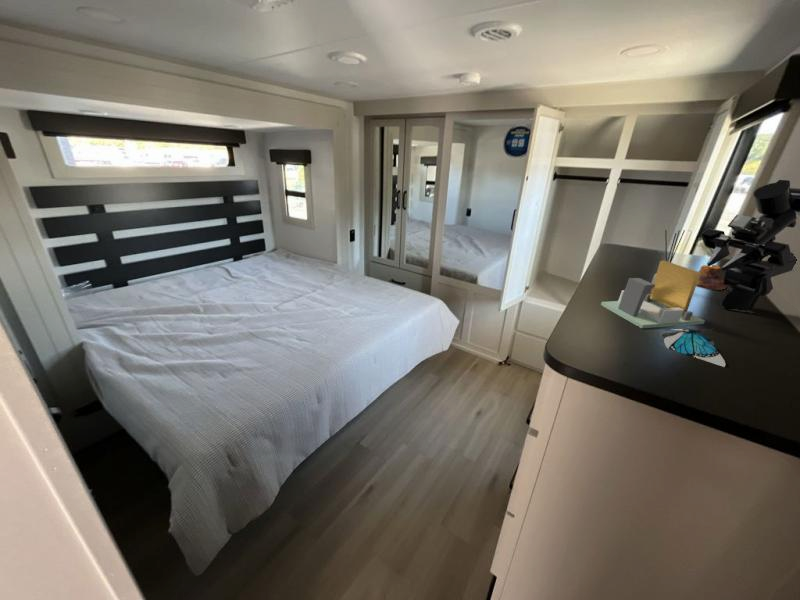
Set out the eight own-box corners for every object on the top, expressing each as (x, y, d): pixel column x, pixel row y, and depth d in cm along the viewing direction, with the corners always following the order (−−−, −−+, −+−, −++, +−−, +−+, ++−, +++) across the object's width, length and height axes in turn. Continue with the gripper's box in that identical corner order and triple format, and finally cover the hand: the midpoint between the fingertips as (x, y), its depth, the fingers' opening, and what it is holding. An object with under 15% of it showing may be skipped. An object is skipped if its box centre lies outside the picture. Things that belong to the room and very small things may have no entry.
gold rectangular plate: (652, 300, 94) (664, 260, 89) (685, 315, 85) (701, 272, 80) (648, 301, 94) (659, 261, 88) (681, 316, 85) (696, 273, 80)
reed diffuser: (661, 293, 104) (687, 233, 96) (638, 286, 109) (660, 228, 101) (672, 287, 110) (697, 230, 101) (650, 280, 115) (672, 225, 106)
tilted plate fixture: (656, 301, 97) (669, 270, 93) (703, 323, 85) (720, 289, 81) (600, 304, 94) (611, 272, 89) (641, 328, 81) (656, 292, 77)
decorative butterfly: (660, 319, 78) (716, 321, 73) (659, 342, 80) (713, 346, 75) (666, 337, 70) (729, 341, 65) (664, 362, 72) (725, 368, 67)
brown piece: (694, 288, 110) (703, 268, 107) (677, 277, 120) (685, 259, 117) (734, 293, 107) (745, 273, 104) (714, 281, 118) (723, 262, 114)
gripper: (721, 199, 89) (673, 238, 91) (810, 210, 72) (749, 258, 75) (729, 227, 94) (684, 263, 96) (815, 243, 77) (757, 287, 80)
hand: (714, 267), depth 87 cm, fingers open, 3 cm apart
